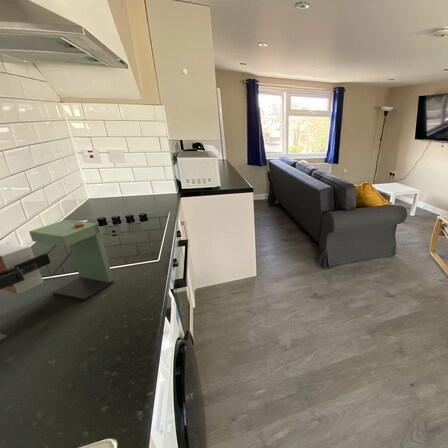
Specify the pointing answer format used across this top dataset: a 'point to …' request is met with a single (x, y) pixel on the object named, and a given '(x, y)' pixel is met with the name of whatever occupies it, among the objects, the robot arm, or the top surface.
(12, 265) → the small box
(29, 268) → the robot arm
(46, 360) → the top surface
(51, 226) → the coffee maker
